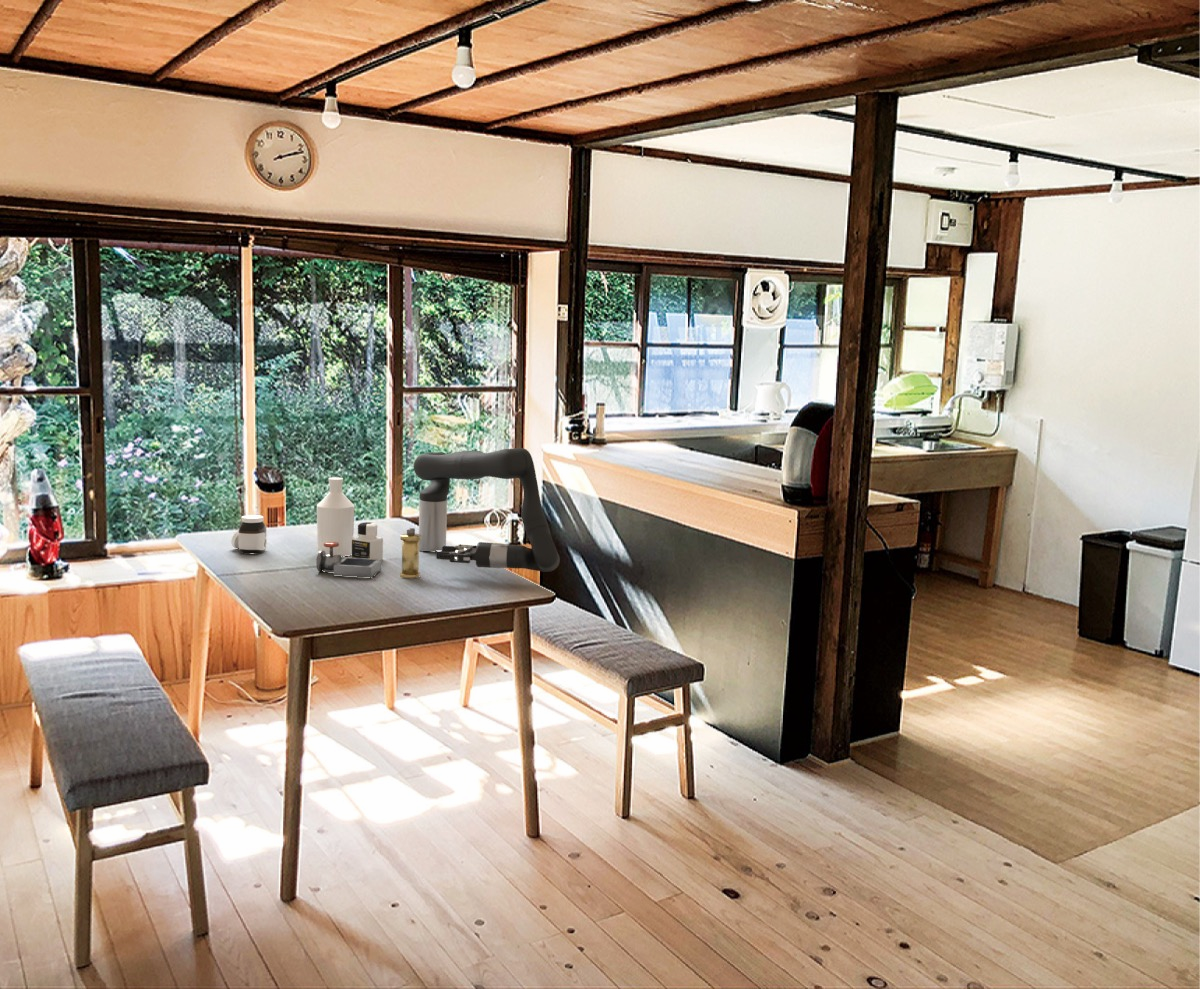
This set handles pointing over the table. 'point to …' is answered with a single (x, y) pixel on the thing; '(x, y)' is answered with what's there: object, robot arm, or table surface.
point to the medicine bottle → (367, 542)
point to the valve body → (410, 554)
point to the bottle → (335, 520)
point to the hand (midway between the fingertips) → (439, 552)
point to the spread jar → (251, 535)
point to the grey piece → (346, 564)
